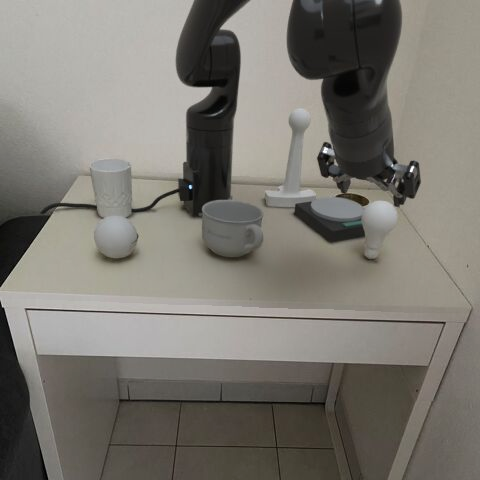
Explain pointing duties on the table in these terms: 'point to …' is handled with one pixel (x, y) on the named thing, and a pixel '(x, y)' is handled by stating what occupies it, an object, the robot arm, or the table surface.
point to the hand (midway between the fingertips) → (372, 194)
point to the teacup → (232, 227)
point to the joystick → (293, 166)
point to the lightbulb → (377, 225)
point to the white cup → (112, 186)
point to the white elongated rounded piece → (115, 236)
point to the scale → (332, 217)
